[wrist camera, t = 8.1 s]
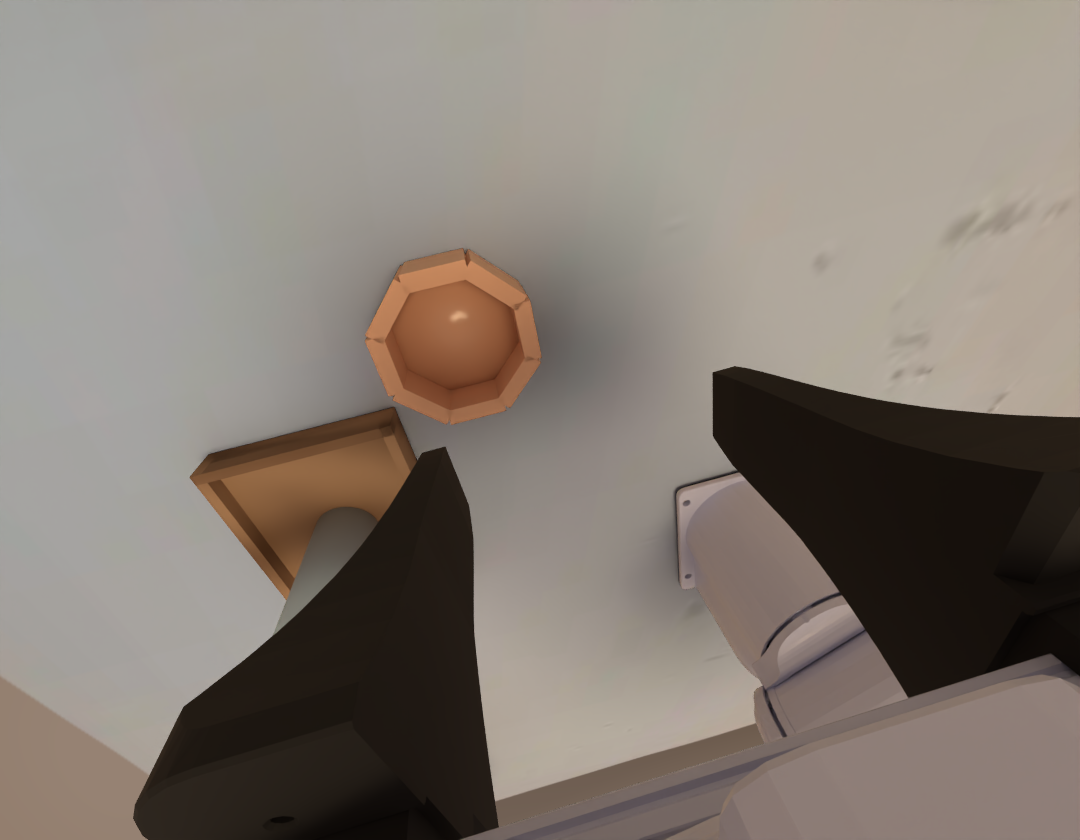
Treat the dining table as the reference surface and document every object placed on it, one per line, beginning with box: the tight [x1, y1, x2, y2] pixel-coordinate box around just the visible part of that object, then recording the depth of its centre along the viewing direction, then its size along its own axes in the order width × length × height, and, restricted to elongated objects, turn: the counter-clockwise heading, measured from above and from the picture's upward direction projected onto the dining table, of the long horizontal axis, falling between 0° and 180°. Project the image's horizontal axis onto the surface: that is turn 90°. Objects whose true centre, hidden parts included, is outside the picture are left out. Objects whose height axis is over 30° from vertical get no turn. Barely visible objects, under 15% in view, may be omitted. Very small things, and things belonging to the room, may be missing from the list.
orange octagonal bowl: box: [365, 248, 542, 425], centre depth 19 cm, size 7×7×3 cm
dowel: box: [273, 507, 378, 635], centre depth 20 cm, size 3×3×8 cm
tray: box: [190, 407, 417, 600], centre depth 24 cm, size 12×9×2 cm
